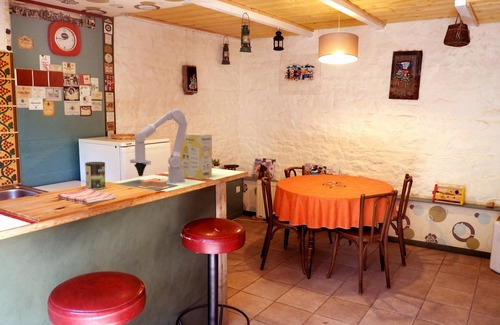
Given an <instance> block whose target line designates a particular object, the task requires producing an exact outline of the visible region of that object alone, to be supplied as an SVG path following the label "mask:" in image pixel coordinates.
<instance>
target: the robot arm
mask: <svg viewBox="0 0 500 325" xmlns="http://www.w3.org/2000/svg"><path fill="white" fill-rule="evenodd" d="M172 120H174V121H175V123H176V124H177V126H178V127H177V132H176V136H175V140H174V143H173V149H172V152H171V154H170V157H168V159H167V161H168V162H167V163H168V165H169V166H168V176H167V178H168V180H167V184H173V185H177V184H179V183H184V182H186V180H185V177H184V170H183V168H181V167H180V164H181V162H180V157H181V149H182V145H183V141H184V137H185V133H186V131H187V127H188V122H187V119H186V116H185V113H184V112H183V111H182V110H181V109H179V108H173V109H171V110H169V111H167V112H166V113H165V114H163V115H162V116H161V117H160V118H158V119H157V120H156V121H155V122H153V123H148V124H145V126H144V127H143V128H142V129H139V130H138V132H136V133H135V134H134V137H133V138H134V140H135V141H134V159H133V158H132V159H130V160H129V163H130V164H134V167H135V169H136V172H137V175H138V177H143V176H144V172H145V169H146V167H147V166H149V165H151V164H152V161H151V160H147V159H146V144H145V141H146V139H147V138H149V137H151V136H152V135H153V134H155V132H156V131H157V128H158V127H160V126H162V125H164V124H165V123H166V122H167V121H172Z"/></svg>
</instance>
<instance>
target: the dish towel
mask: <svg viewBox="0 0 500 325" xmlns="http://www.w3.org/2000/svg"><path fill="white" fill-rule="evenodd" d="M57 196H58V199H59V200H60V199H61V200H64V201H69V202H72V203H73V202H74V203H77V204H82V205H92V204H95V203H96V204H97V203H101V202H102V203H103V202H106V201H111V199H112V200H115V198H116V199H117V196H116V195H115V194H113V193H110V192H101V191H99V190H97V191H96V190H91V189H88V188H86V187H85V188H83V189H80V190H78V191H73V192H69V193H67V192H60V193H58V194H57Z"/></svg>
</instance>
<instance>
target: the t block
mask: <svg viewBox="0 0 500 325" xmlns="http://www.w3.org/2000/svg"><path fill="white" fill-rule="evenodd" d="M167 181H168V180H167ZM167 181H166V180H162V179H161V178H157V177H156V178H150V179H145V181H141V187H150V186H153V187H160V188H163V187H167V184H168V183H167Z"/></svg>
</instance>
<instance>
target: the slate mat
mask: <svg viewBox="0 0 500 325" xmlns="http://www.w3.org/2000/svg"><path fill="white" fill-rule="evenodd" d="M145 180H146V179H145ZM145 180H144V179H135V180H129V181H124V182H120V183H117V185H118V186H126V187H131V188H132V187H133V188H139V189H145V190H152V191H155V192H157V191H163V190H167V189H171V188H175V187H178V186H179V185H178V184H174V183H167V187H163V188H160V187H153V186H150V187H141V181H145Z"/></svg>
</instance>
